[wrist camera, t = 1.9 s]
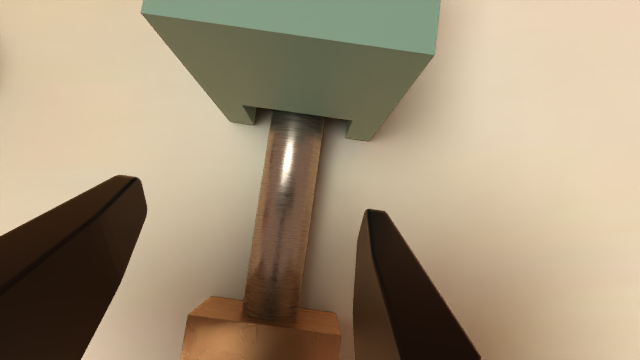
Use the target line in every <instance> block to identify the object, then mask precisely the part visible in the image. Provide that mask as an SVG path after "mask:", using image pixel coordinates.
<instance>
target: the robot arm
mask: <svg viewBox="0 0 640 360" xmlns="http://www.w3.org/2000/svg"><path fill="white" fill-rule="evenodd" d="M146 215H147V204H146V200H145V195H144V191H143V187H142V183H141V181H140V179H139V178H137V177H133V176H126V175H117V176H114V177H112V178H110V179H108V180H107V181H105V182H103V183H101V184H99V185H97V186H95V187H93V188H91V189H89V190H88V191H86V192H84V193H82V194H80V195H78V196H76V197H74V198H72V199H70V200H68V201H67V202H65V203H63V204H61V205H59V206H57V207H55V208H53V209H51V210H49V211H48V212H46V213H44V214H42V215H40V216H38V217H36V218H34V219H32V220H30V221H29V222H27V223H25V224H23V225H21V226H19V227H17V228H15V229H13V230H11V231H9V232H8V233H6V234H4V235H2V236H0V360H81V358H82V357H83V355H84V353H85V351H86V349H87V347H88V345H89V343H90V341H91V339H92V337H93V335H94V333H95V332H96V330H97V328H98V326H99V324H100V322H101V320H102V318H103V316H104V314H105V312H106V310H107V308H108V307H109V305H110V303H111V301H112V299H113V297H114V295H115V293H116V291H117V289H118V287H119V285H120V283H121V281H122V278H123V276H124V273H125V271H126V268H127V266H128V263H129V260H130V258H131V255H132V253H133V250H134V247H135V245H136V242H137V239H138V237H139V234H140V232H141V229H142V226H143V224H144V221H145V218H146ZM353 329H354V346H355V360H481V356H480V354H479V353H478V351H477V350H476V348H475V347H474V345H473V344H472V342H471V340H470V339H469V337H468V336H467V334H466V333H465V331H464V330H463V328H462V327H461V325H460V324H459V322H458V321H457V319H456V318H455V316H454V315H453V313H452V311H451V310H450V308H449V307H448V305H447V304H446V302H445V301H444V299H443V298H442V296H441V295H440V293H439V292H438V290H437V289H436V287H435V286H434V284H433V282H432V281H431V279H430V278H429V276H428V275H427V273H426V272H425V270H424V269H423V267H422V266H421V264H420V263H419V261H418V260H417V258H416V257H415V255H414V253H413V252H412V250H411V249H410V247H409V246H408V244H407V243H406V241H405V240H404V238H403V237H402V235H401V234H400V232H399V231H398V229H397V228H396V226H395V225H394V223H393V221H392V220H391V218H390V217H389V215H388V214H387V213H386V212H385V211H381V210H374V209H367V210H366V211H365V213H364V216H363V220H362V224H361V228H360V232H359V236H358V241H357V253H356V268H355V283H354V298H353Z"/></svg>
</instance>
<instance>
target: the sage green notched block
mask: <svg viewBox="0 0 640 360" xmlns="http://www.w3.org/2000/svg"><path fill="white" fill-rule="evenodd" d="M439 9H440V0H143V4H142V9H141V14H142V15H143V16H144V17H145V19H146V20H147V21H148V22H149V23H150V25H151V26H152V27H153V28H154V30H155V31H156V32H157V33H158V34H159V36H160V37H161V38H162V39H163V41H164V42H165V43H166V44H167V45H168V47H169V48H170V49H171V50H172V52H173V53H174V54H175V55H176V56H177V58H178V59H179V60H180V61H181V63H182V64H183V65H184V66H185V67H186V69H187V70H188V71H189V72H190V74H191V75H192V76H193V77H194V78H195V80H196V81H197V82H198V83H199V85H200V86H201V87H202V88H203V89H204V91H205V92H206V93H207V94H208V96H209V97H210V98H211V99H212V100H213V102H214V103H215V104H216V105H217V107H218V108H219V109H220V110H221V111H222V113H223V114H224V115H225V116H226V118H227V119H228V120H229V121H230V122H237V123H244V124H251V125H254V120H255V114H256V107H261V108H268V109H275V110H282V111H289V112H296V113H303V114H310V115H317V116H324V117H331V118H338V119H345V120H348V121H347V128H346V136H345V138H350V139H357V140H364V141H370V139H371V138H372V137H373V135H374V134H375V133H376V131H377V130H378V129H379V127H380V126H381V125H382V123H383V122H384V121H385V119H386V118H387V117H388V116H389V114H390V113H391V112H392V110H393V109H394V108H395V106H396V105H397V104H398V102H399V101H400V100H401V98H402V97H403V96H404V94H405V93H406V92H407V91H408V89H409V88H410V87H411V85H412V84H413V83H414V81H415V80H416V79H417V77H418V76H419V75H420V73H421V72H422V71H423V69H424V68H425V67H426V65H427V64H428V63H429V62H430V60H431V59H432V58H433V56H434V55H435V46H436V37H437V27H438V18H439Z"/></svg>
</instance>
